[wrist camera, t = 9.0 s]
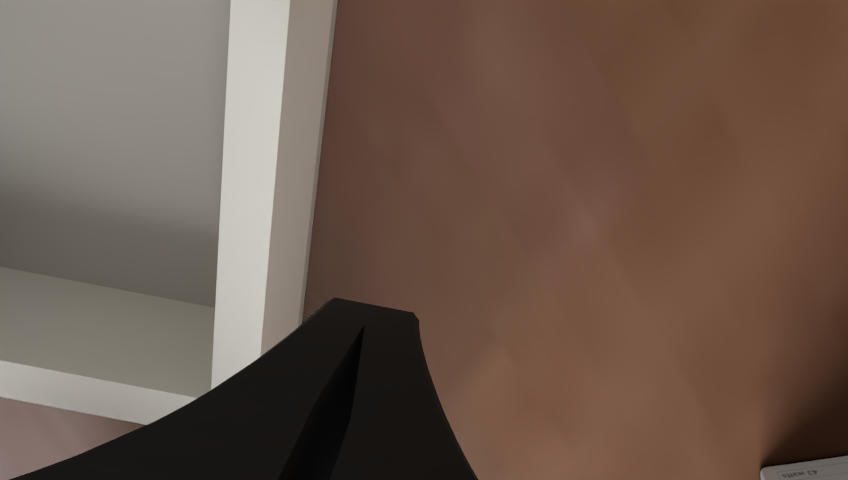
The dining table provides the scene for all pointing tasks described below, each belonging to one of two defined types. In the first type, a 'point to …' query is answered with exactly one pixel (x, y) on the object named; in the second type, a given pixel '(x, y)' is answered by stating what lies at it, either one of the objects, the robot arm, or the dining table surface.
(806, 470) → the light bulb box
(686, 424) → the dining table surface
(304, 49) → the white square shallow box
